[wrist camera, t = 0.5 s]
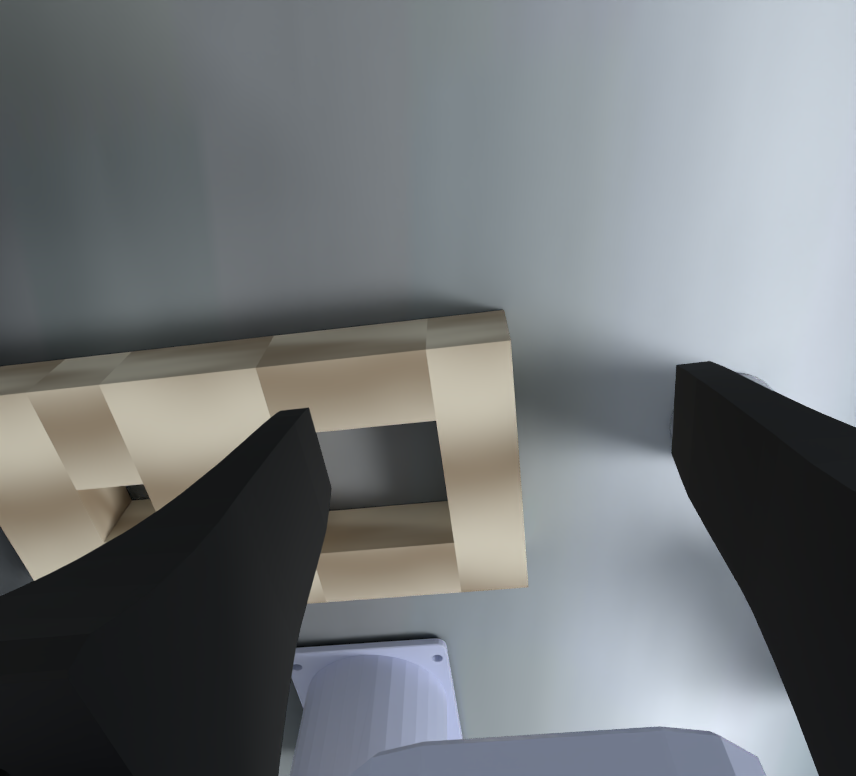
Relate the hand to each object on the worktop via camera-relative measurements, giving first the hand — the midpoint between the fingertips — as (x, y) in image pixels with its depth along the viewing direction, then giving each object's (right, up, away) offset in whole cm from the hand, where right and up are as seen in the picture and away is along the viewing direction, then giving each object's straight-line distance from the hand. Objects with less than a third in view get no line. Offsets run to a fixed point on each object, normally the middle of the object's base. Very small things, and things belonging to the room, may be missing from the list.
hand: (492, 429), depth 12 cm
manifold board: (-8, -2, +13) cm, 15 cm away
